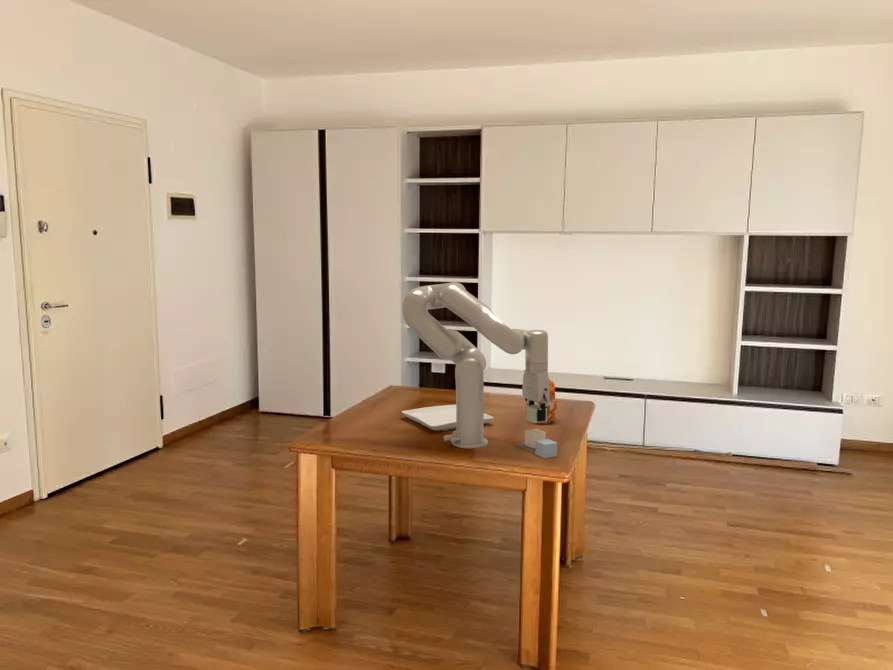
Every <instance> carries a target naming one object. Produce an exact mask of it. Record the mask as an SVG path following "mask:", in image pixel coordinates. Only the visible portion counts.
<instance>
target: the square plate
mask: <svg viewBox="0 0 893 670" xmlns="http://www.w3.org/2000/svg"><path fill="white" fill-rule="evenodd" d="M400 413H402V414H403V415H404V416H405V417H406V418H407V419H409V420H412V421H414V422H416V423H419V424H420V425H423V426H424V427H426V428H428V429H430V430H433V431H440V430H441V431H449V429H450V430H454V429H455V430H456V403H455V404H447V405H446V404H445V405H434V406H427V407H426V406H425V407H420V408H414V409H413V408H412V409H407V410H402V411H401V412H400ZM494 418H495V417H494V416H492V415H489V414H488V413H485V412H484V424H487V423H490V422H491V421H492V420H493V419H494Z"/></svg>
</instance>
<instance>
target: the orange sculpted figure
mask: <svg viewBox="0 0 893 670" xmlns="http://www.w3.org/2000/svg"><path fill="white" fill-rule="evenodd" d="M549 388H550V395H549V398H550V401H551V402H553V401H554V400H555V399H556V384H555V382H554V381H553V380H551V379H549ZM542 404H543V402H541V405H542ZM550 407H551V406H550V404H549V405H548V407H547V421H546V422H540V423H538V424H539V425H549V424H550V423H551V422H552V421H555V420H556V413H555V411H556V410H557V407H558V405H557V400H555V401H554V402H553V407H552V409H550ZM548 423H549V424H548Z"/></svg>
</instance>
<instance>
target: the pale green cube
mask: <svg viewBox="0 0 893 670" xmlns="http://www.w3.org/2000/svg"><path fill="white" fill-rule="evenodd" d="M525 408H526V412H525V413H526V414H525V416H526V419H525V420H526V421H528V422H530V423H532V424H539V423H540V422H538V421H537V410H539V409H538V404H536V403H535V405H529V406H527V405H526V407H525ZM546 421H547V409H546V420H545V421H541V422H546Z"/></svg>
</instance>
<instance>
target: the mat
mask: <svg viewBox="0 0 893 670" xmlns="http://www.w3.org/2000/svg"><path fill="white" fill-rule="evenodd" d="M515 445H516V446H519V447H521V448H523V449H525V450H527V451H529V452H532V453H533V452H535V450H536V448H531V447H529V446H527V445H525V441H523V442H517V443H515Z"/></svg>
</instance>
